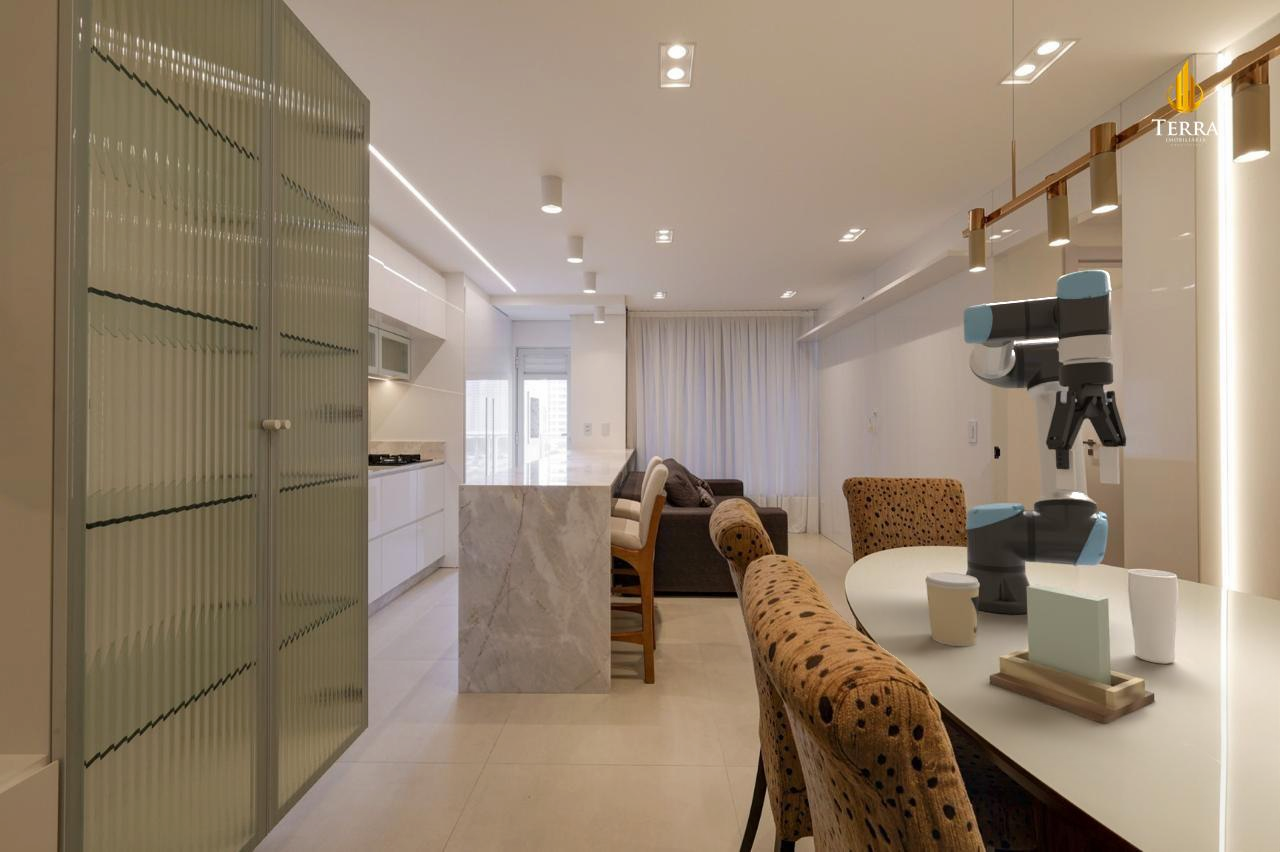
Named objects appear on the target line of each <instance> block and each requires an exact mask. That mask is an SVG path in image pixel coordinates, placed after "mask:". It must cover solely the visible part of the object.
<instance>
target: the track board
mask: <svg viewBox="0 0 1280 852" xmlns="http://www.w3.org/2000/svg"><path fill="white" fill-rule="evenodd" d="M1145 682H1146V681H1145V679H1143V678H1140V677H1136V676H1132V675H1129V674H1126V673H1122V672H1118V671H1114V670H1112V669H1111V686H1109V685H1106V684H1102V683H1099V682H1096V681H1092V680H1089V679H1086V678H1083V677H1079V676H1076V675H1073V674H1070V673H1066V672H1063V671H1060V670H1057V669H1053V668H1050V667H1047V666H1043V665H1040V664H1037V663H1034V662H1030V661H1029V649H1028V647H1026V648H1023V649H1021V650H1017V651H1014V652H1010V653H1006V654H1004V655H1000V656H999V672H996V673H993V674H990V675H989V684H992V685H995V686H997V687H1000V688H1003V689H1005V690H1008V691H1012V692H1014V693H1015V694H1019V695H1022V696H1025V697H1028V698H1030V699H1034V700H1037V701H1038V702H1042V703H1045V704H1048V705H1051V706H1053V707H1056V708H1059V709H1061V710H1065V711H1067V712H1070V713H1074V714H1076V715H1078V716H1081V717H1084V718H1087V719H1090V720H1093V721H1095V722H1098V723H1101V724H1104V725H1105V724H1108V723H1110V722H1113V721H1114V720H1116V719H1119V718H1121V717H1123V716H1126V715H1128V714H1130V713H1132V712H1134V711H1136V710H1138V709H1141V708H1144V707H1146V706H1147V705H1149V704H1152V703H1154V702H1155V692H1152V691H1148V690H1146V683H1145Z"/></svg>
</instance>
